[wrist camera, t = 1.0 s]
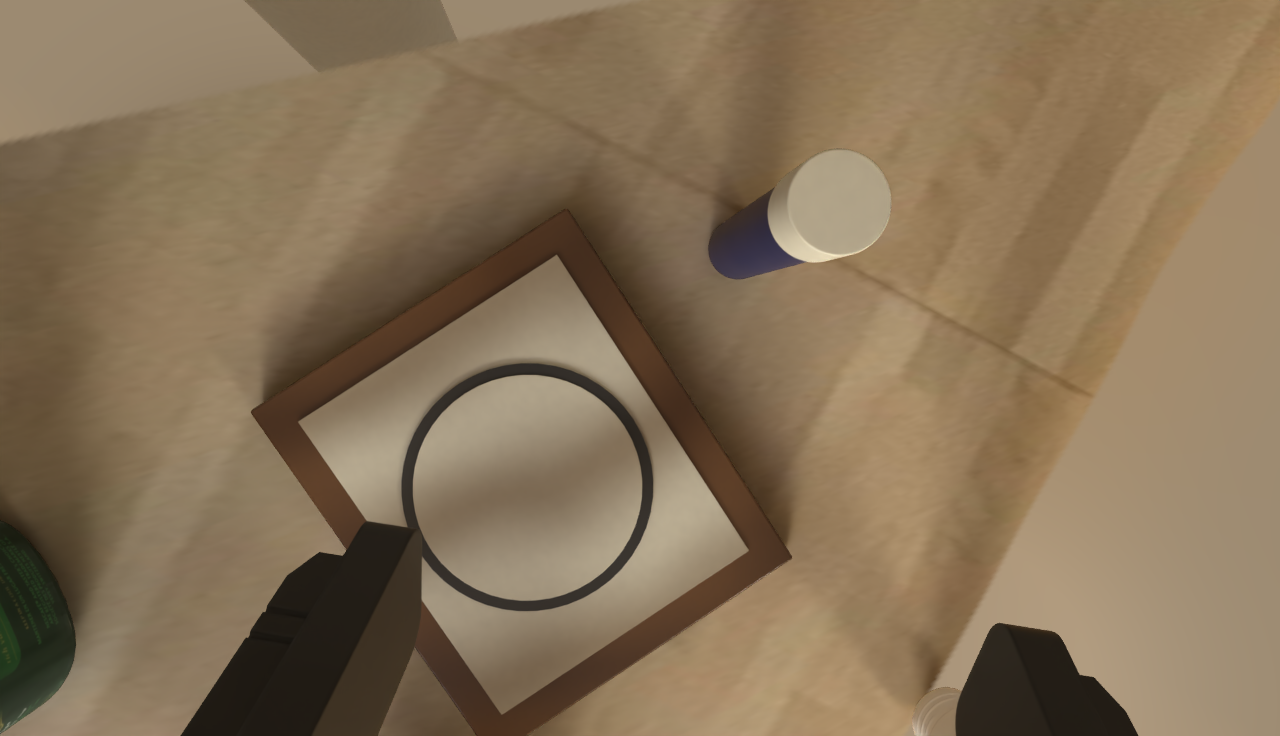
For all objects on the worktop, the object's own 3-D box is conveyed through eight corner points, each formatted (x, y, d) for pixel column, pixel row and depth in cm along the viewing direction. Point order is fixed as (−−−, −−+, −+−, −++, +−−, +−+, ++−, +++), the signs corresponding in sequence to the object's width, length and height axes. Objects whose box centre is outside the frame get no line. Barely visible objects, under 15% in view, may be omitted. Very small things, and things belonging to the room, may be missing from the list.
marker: (692, 238, 31) (767, 185, 19) (747, 203, 31) (856, 127, 19) (727, 294, 31) (823, 276, 19) (782, 259, 31) (911, 219, 19)
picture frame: (259, 408, 30) (245, 412, 28) (567, 210, 30) (566, 206, 29) (495, 745, 31) (491, 763, 30) (786, 551, 31) (795, 560, 30)
